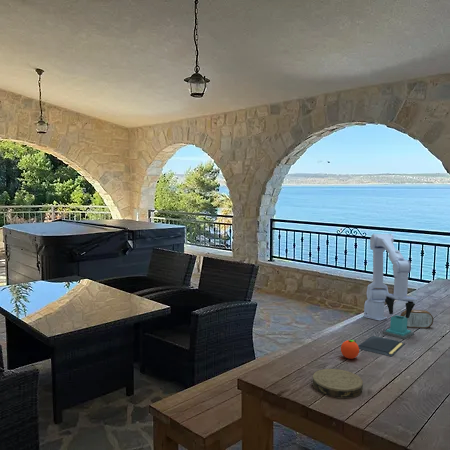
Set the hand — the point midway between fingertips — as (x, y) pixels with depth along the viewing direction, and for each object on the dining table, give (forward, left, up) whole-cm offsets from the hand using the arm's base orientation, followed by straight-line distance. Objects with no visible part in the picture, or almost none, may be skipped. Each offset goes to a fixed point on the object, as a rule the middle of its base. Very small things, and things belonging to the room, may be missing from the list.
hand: (399, 315), depth 194 cm
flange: (0, 0, -8) cm, 8 cm away
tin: (+1, +17, -9) cm, 19 cm away
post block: (0, 0, -9) cm, 9 cm away
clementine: (0, -43, -9) cm, 44 cm away
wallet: (+2, -21, -9) cm, 23 cm away
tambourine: (+10, -69, -9) cm, 70 cm away
